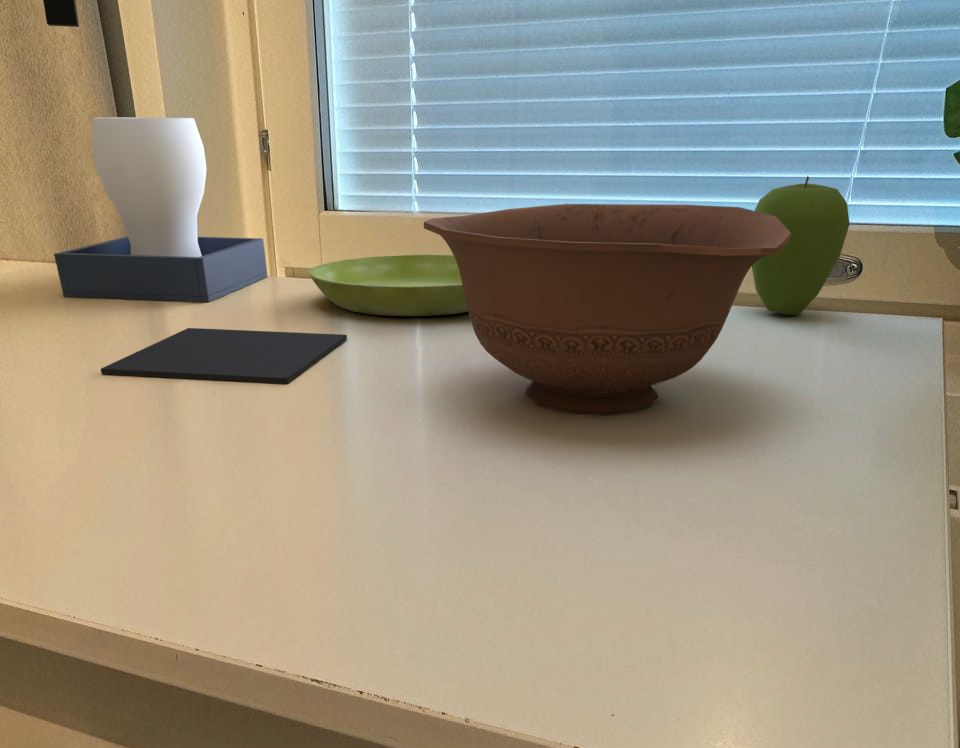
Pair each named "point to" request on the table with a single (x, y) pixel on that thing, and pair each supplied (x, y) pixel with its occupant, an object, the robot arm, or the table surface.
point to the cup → (153, 180)
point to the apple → (801, 245)
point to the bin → (161, 270)
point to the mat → (229, 355)
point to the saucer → (394, 285)
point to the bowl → (604, 292)
